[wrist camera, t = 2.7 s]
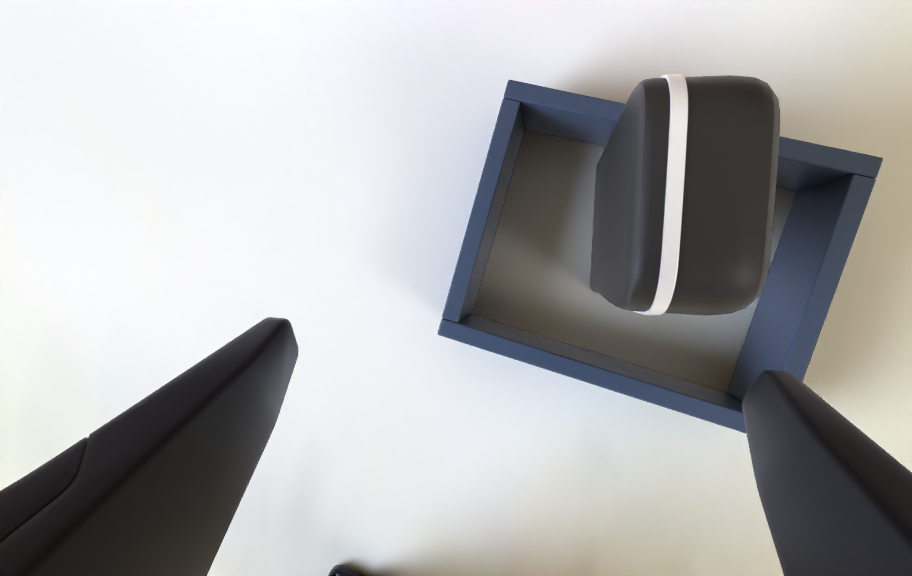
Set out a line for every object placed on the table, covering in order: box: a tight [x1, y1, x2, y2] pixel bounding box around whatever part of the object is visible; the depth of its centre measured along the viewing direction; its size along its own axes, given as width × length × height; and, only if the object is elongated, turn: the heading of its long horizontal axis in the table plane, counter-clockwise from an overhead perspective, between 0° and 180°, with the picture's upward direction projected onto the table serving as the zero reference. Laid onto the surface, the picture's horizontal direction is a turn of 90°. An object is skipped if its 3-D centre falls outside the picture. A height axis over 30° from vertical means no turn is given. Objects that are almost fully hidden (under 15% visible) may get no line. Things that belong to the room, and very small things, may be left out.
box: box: [438, 80, 883, 434], centre depth 21 cm, size 12×15×4 cm
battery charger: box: [590, 74, 780, 315], centre depth 17 cm, size 7×4×11 cm, turn 178°
